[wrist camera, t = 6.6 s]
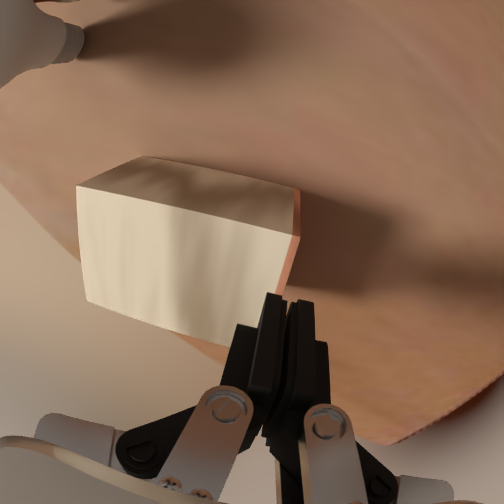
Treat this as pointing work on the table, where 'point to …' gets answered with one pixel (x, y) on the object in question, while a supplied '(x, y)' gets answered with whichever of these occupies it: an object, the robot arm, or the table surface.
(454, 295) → the table surface
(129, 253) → the birch block
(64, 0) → the bull figurine
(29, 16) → the lightbulb
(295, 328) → the robot arm
